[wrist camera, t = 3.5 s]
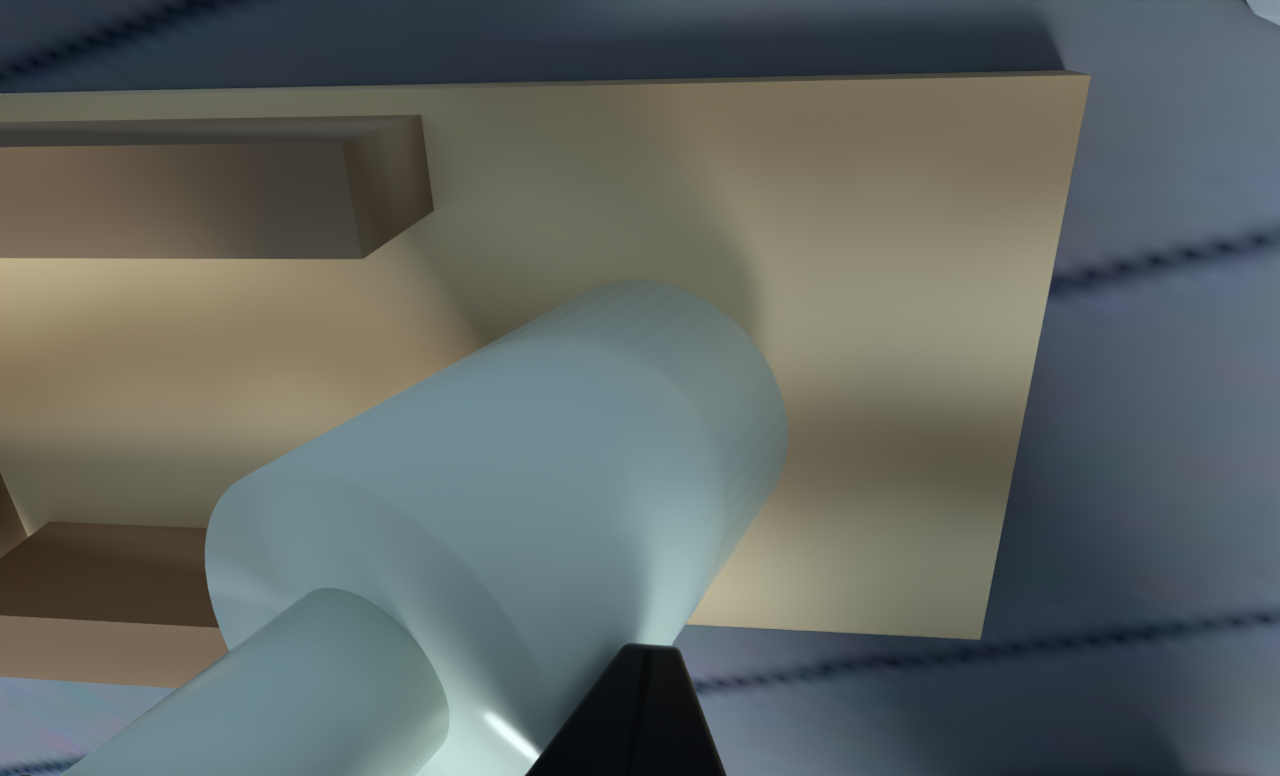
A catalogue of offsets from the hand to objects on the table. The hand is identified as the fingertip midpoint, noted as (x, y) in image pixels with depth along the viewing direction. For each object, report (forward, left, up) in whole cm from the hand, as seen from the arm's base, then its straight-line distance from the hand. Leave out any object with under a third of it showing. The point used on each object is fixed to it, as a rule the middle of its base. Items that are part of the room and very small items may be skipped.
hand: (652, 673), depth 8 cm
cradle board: (0, +6, -8) cm, 10 cm away
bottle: (0, +1, -6) cm, 6 cm away
